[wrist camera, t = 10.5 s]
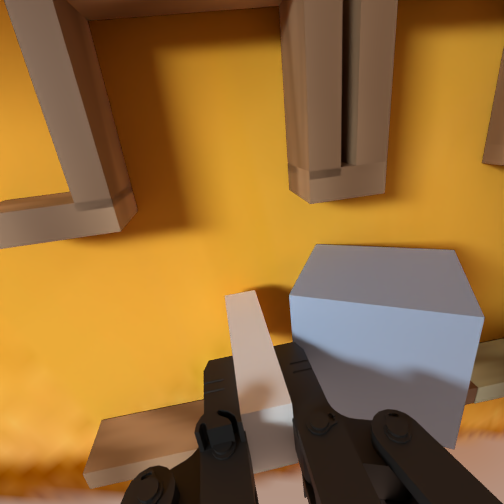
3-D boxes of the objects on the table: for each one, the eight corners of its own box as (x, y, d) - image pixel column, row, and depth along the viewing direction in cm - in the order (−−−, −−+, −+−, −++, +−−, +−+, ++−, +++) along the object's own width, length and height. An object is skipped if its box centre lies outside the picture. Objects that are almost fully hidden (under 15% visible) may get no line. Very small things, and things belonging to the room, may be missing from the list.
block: (319, 337, 18) (298, 407, 14) (316, 244, 15) (288, 294, 11) (436, 356, 15) (454, 449, 11) (454, 249, 13) (484, 317, 9)
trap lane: (107, 434, 18) (86, 502, 15) (-88, -12, 10) (-240, -87, 6) (519, 348, 21) (579, 389, 17) (645, -59, 12) (806, -128, 9)
